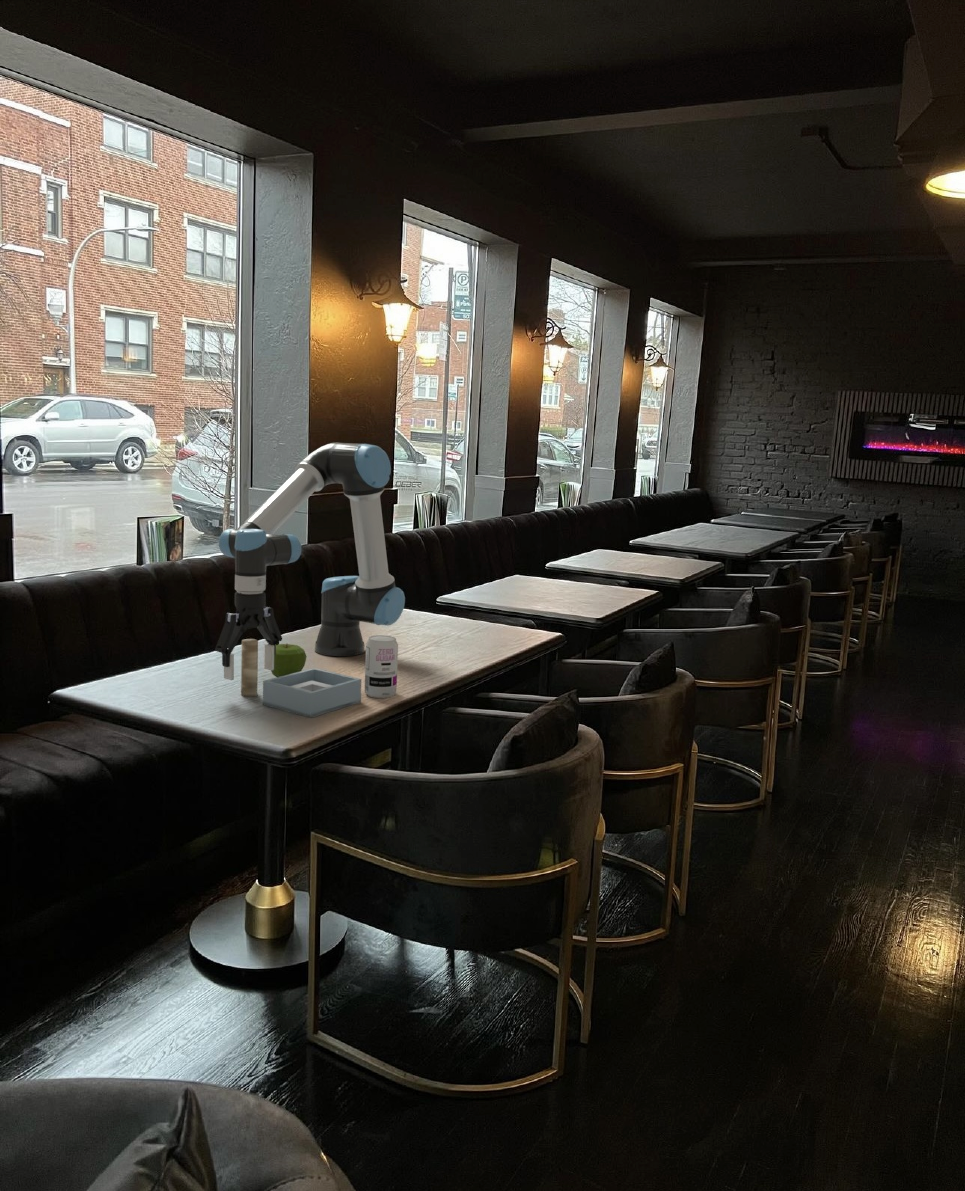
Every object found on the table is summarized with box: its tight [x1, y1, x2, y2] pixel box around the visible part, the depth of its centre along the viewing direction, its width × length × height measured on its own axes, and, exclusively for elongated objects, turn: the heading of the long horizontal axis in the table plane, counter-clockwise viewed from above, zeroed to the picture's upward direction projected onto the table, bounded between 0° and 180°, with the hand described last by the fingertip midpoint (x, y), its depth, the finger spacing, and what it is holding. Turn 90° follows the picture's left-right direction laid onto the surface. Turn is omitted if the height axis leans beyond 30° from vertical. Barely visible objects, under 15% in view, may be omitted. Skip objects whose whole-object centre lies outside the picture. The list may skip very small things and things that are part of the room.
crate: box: [262, 667, 362, 718], centre depth 239 cm, size 16×18×6 cm
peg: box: [240, 638, 259, 698], centre depth 244 cm, size 4×4×14 cm
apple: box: [270, 643, 308, 678], centre depth 260 cm, size 11×10×10 cm
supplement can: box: [364, 634, 399, 699], centre depth 250 cm, size 8×8×15 cm
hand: (249, 674), depth 244 cm, fingers open, 13 cm apart
